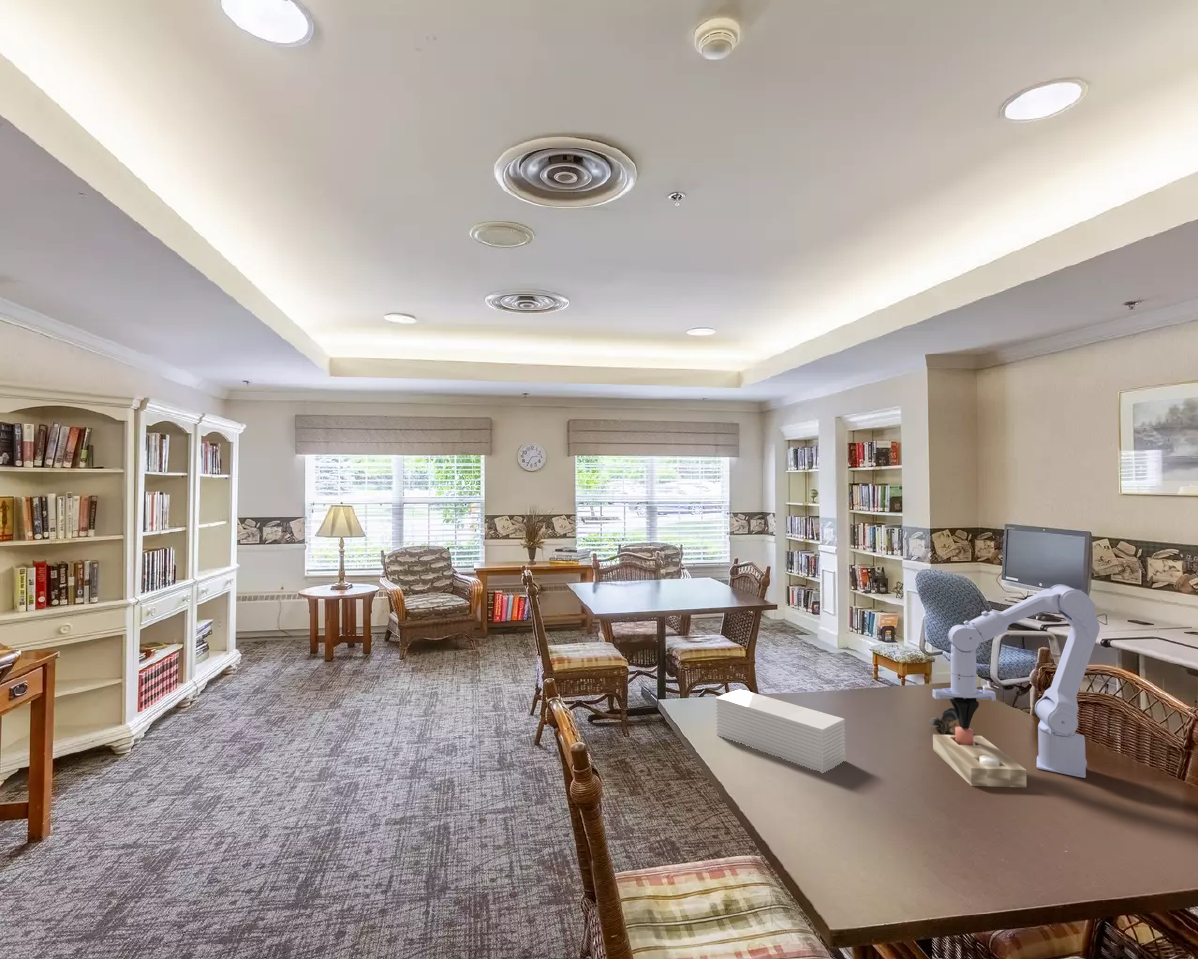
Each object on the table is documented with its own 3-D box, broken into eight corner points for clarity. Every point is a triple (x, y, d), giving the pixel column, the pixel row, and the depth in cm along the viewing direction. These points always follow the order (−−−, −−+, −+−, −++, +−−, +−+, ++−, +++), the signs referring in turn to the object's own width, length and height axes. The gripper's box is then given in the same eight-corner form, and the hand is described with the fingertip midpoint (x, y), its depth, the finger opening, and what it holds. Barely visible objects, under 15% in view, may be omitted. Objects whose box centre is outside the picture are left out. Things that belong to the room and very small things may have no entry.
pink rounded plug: (968, 744, 163) (968, 726, 163) (976, 750, 159) (976, 732, 159) (952, 743, 163) (952, 726, 163) (960, 750, 159) (959, 732, 159)
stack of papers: (845, 761, 159) (844, 718, 159) (823, 774, 152) (822, 729, 152) (740, 726, 183) (739, 688, 183) (716, 736, 176) (716, 697, 176)
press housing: (981, 751, 164) (981, 735, 164) (1026, 787, 144) (1026, 769, 144) (933, 749, 165) (932, 734, 165) (971, 785, 145) (971, 768, 145)
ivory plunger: (993, 774, 151) (993, 755, 151) (1003, 782, 147) (1002, 762, 147) (976, 774, 151) (976, 755, 151) (985, 781, 147) (984, 762, 147)
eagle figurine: (965, 737, 171) (965, 720, 179) (948, 713, 172) (949, 698, 180) (939, 746, 175) (940, 729, 182) (922, 723, 176) (924, 708, 183)
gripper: (985, 669, 164) (985, 722, 164) (926, 668, 166) (927, 720, 165) (1000, 677, 157) (1000, 732, 157) (939, 676, 159) (939, 731, 158)
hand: (964, 727), depth 161 cm, fingers closed
